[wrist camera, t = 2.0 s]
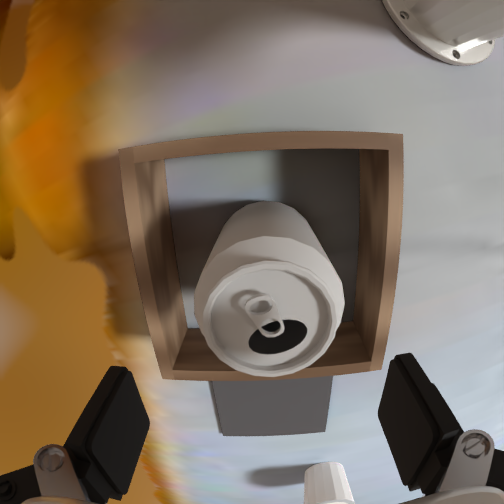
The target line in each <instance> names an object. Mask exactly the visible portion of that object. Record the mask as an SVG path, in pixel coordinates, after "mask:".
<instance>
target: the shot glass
mask: <svg viewBox="0 0 504 504" xmlns="http://www.w3.org/2000/svg"><path fill="white" fill-rule="evenodd" d="M304 504H355V503H354V499H353V496H352V493H351V490H350V487H349V484H348V480H347V477H346V474H345V471H344V468H343V466H342V465H341V464H340V463H337V462H323V463H319V464H316V465H313V466H311V467H309V468H308V469H307V470H306V471H305V484H304Z"/></svg>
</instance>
